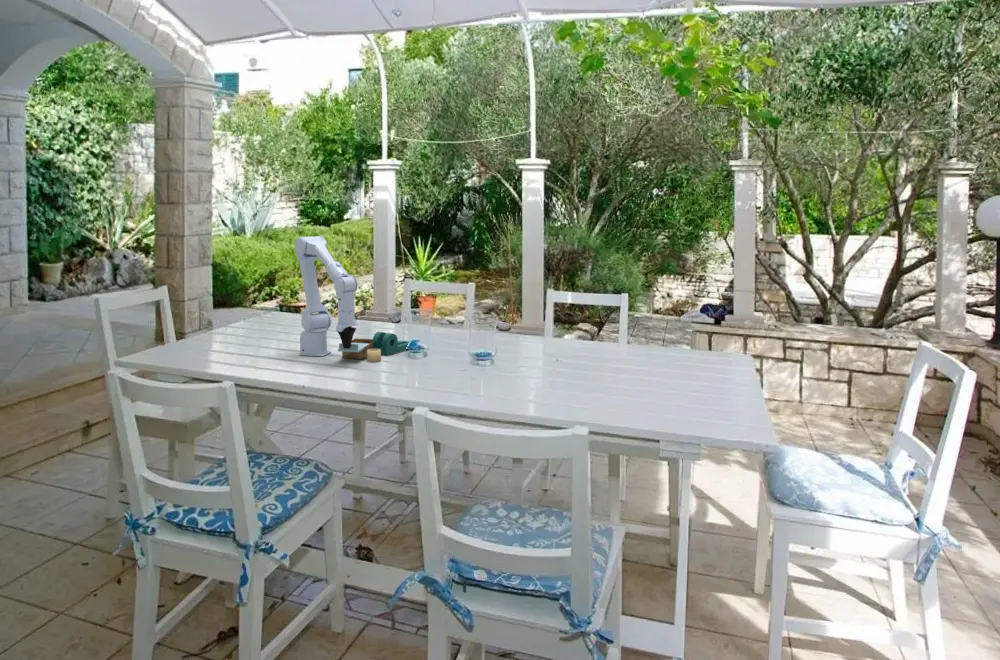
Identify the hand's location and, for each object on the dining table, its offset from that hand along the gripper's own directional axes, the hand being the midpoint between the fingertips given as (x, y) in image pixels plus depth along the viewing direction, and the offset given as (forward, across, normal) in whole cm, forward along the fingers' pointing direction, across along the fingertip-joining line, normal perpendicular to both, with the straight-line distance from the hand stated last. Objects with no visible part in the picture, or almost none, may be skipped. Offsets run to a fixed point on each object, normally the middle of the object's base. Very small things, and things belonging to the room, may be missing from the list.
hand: (346, 348), depth 265 cm
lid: (+2, +7, 0) cm, 7 cm away
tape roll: (+6, +6, -8) cm, 11 cm away
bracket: (+6, +24, -10) cm, 26 cm away
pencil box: (+5, +14, 0) cm, 15 cm away
